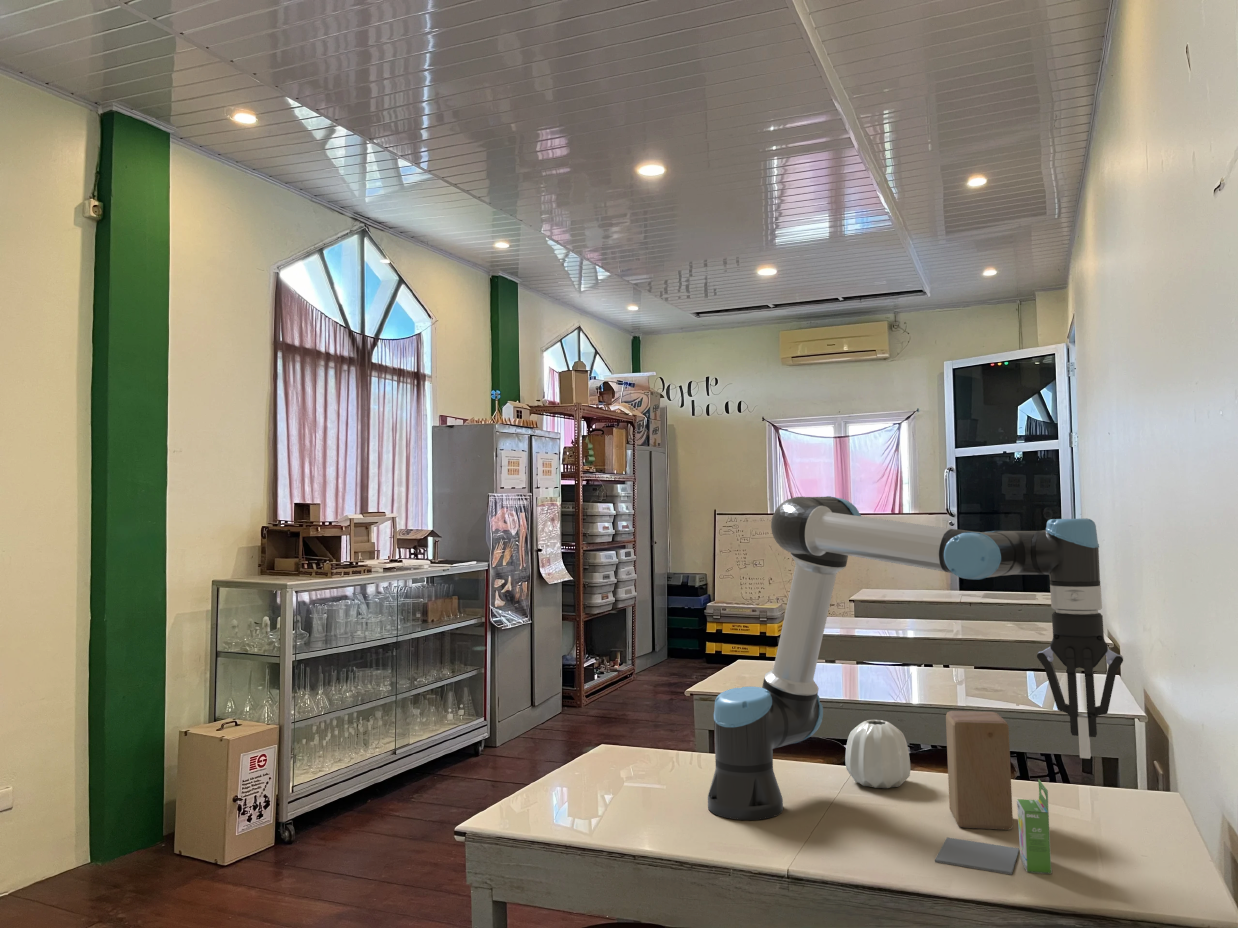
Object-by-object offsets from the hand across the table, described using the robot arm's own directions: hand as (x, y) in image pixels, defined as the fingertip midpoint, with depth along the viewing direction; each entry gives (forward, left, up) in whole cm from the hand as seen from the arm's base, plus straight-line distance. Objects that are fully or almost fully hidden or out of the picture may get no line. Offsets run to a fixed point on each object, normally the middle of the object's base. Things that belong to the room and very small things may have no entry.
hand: (1085, 756), depth 146 cm
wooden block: (-19, +19, -19) cm, 33 cm away
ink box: (-8, 0, -19) cm, 21 cm away
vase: (-42, +35, -19) cm, 58 cm away
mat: (-17, 0, -19) cm, 26 cm away
